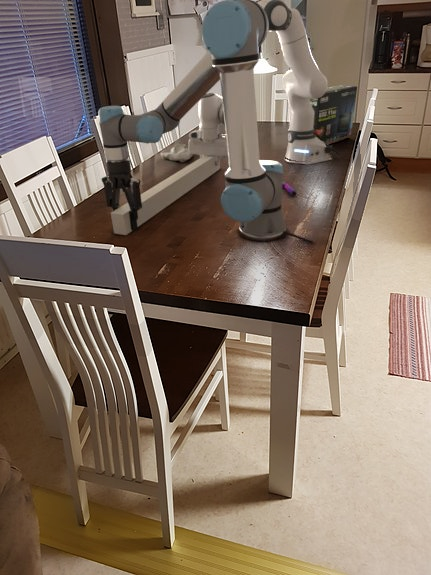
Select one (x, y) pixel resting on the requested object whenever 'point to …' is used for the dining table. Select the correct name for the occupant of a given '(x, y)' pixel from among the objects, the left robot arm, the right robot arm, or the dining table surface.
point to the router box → (334, 112)
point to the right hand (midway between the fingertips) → (210, 164)
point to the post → (165, 193)
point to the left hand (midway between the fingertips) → (127, 227)
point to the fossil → (177, 153)
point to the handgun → (288, 188)
